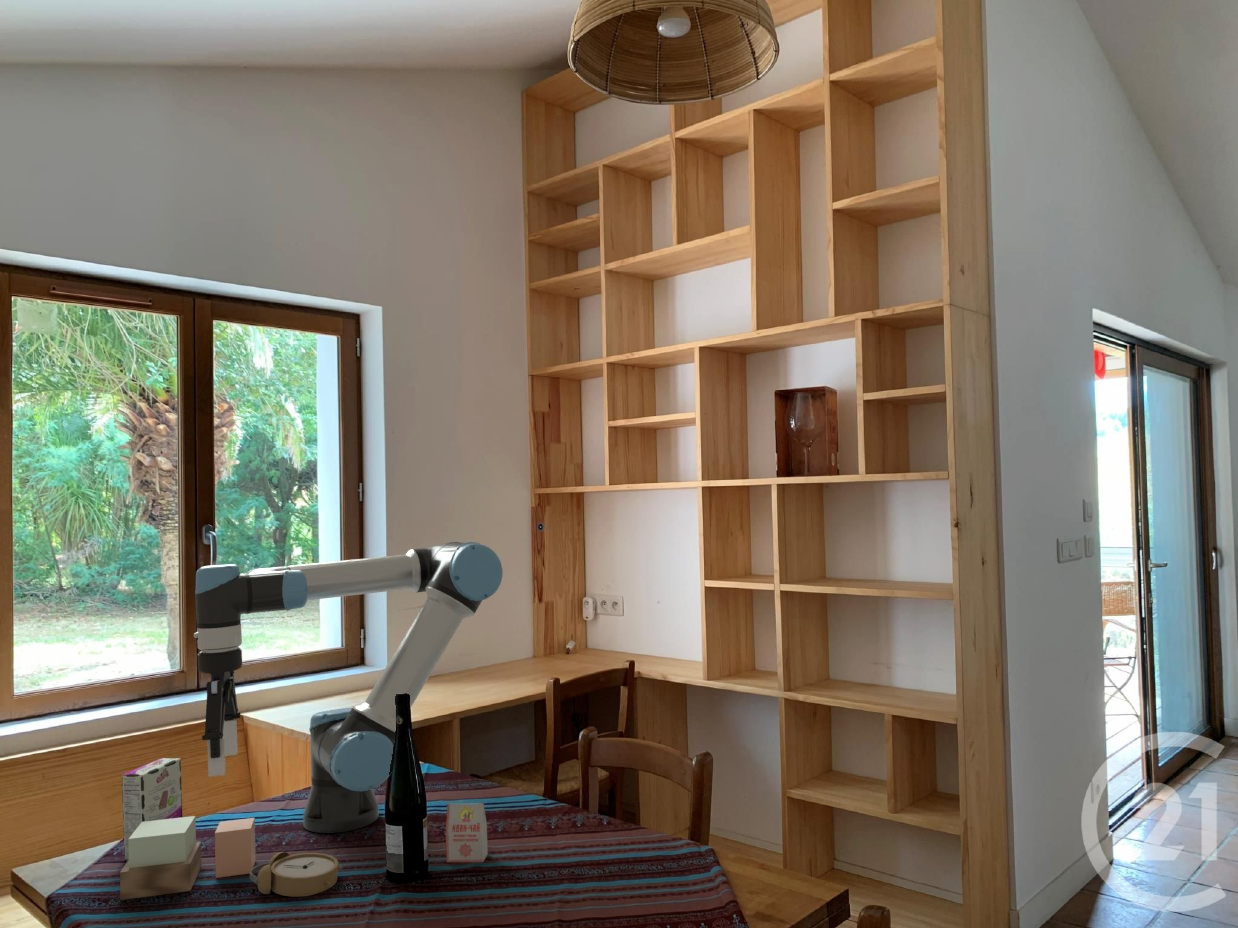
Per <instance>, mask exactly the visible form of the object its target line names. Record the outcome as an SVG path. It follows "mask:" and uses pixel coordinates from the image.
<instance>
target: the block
mask: <svg viewBox="0 0 1238 928" xmlns="http://www.w3.org/2000/svg"><path fill="white" fill-rule="evenodd" d="M255 819H256V818H255V817H250V818H242V819H241V818H240V819H233V820H225V821H219V823H218V826H217V827H216V830H215V831H214V846H215V847H214V848H215V849H214V851H215V852H214V853H215V855H214V856H215V859H214V860H215V878H216V879H218V878H219V879H220V878H224V877H225V878H226V877H231V876H241V875H250V870H251V869H252V868H253V867H255V863H256V824H255V823H256V822H255Z"/></svg>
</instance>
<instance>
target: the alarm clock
mask: <svg viewBox="0 0 1238 928" xmlns="http://www.w3.org/2000/svg"><path fill="white" fill-rule="evenodd" d="M341 869H344V866H343V865H339V861H338V859H337V858H336V857H334V856H333V855H330V854H326V853H321V852H303V853H295V854H291V855H290V854H289V853H288V852H285V851H281V852H277V853H275V854H274V855H273V856H271V858H270V859H269V862H264V863H261V864H257V865H254V867H253V868H252V869H251V870H250V873H249V879H250V881H252V882H253V883H254V884H256V885H257V888H258V891H259V892H260V894H263V895H270V893H271V891H272V892H273V893H275V894H277V895H280V896H285V897H286V896H287V897H295V898H296V897H308V896H312V895H316V894H318V893H319V894H320V893H323V892H325V891H327V890H328V889H330V888H332V887H333V886H334V885H336V884H337V880H338V871H339V870H341ZM257 872H258V874H257V876H256V875H255V873H257Z"/></svg>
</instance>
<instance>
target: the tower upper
mask: <svg viewBox="0 0 1238 928" xmlns="http://www.w3.org/2000/svg"><path fill="white" fill-rule="evenodd" d="M196 820H197V819H196V815H191V816H184V817H183V816H182V817H181V818H172V819H163V820H154V821H145V822H141V824H140V825H139V826H138V827H137V829H136V830H135V831H134V832H133V834H132V835H131V836H130V838H129V839H128V846H129V868H136V867H144V866H153V865H161V864H169V863H178V862H185V861H186V860H187V858H188V856H189V855H190V853H191V851H192V849H193V848H194V846H195V844H196V842H197V833H196V832H197V831H196V829H197V826H196Z"/></svg>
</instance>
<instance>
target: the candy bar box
mask: <svg viewBox="0 0 1238 928" xmlns="http://www.w3.org/2000/svg"><path fill="white" fill-rule="evenodd" d="M181 760H182V759H181V758H180V757H179V758H178V757H175V758H174V757H173V758H172V757H162V758H161V757H160V758H158V759H156V760H154V761H151V762H148V763H146V764H144V765H141V766H139V767H137V768H134V769H132V770H130V771H127V772H125V773H123V774H121V791H122V817H123V819H122V820H123V821H122V825H123V851H124V852H123V853H124V856H123V857H124V861H128V860H129V846H128V839H129V838H130V836H131V835H132V834H133V832H134V831H135V830H136V829H137V827H138V826H139V825H140V824H141V822H145V821H154V820H163V819H172V818H181V817H183V798H182V797H183V795H182V794H183V792H182V791H183V790H182V767H181V766H182V765H181Z"/></svg>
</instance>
